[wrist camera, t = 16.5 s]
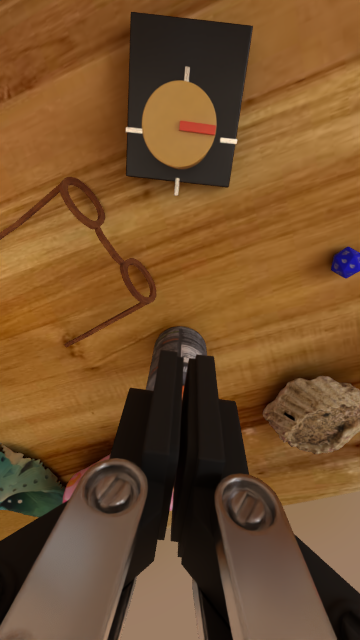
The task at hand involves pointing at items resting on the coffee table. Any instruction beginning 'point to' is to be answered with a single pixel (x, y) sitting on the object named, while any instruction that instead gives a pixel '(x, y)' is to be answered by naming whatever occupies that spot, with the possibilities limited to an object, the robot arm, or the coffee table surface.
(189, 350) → the pill bottle
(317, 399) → the seashell
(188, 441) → the robot arm
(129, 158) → the panel
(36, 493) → the teal shoe
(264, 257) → the coffee table surface
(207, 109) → the tan dial knob
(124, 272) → the glasses
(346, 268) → the die
